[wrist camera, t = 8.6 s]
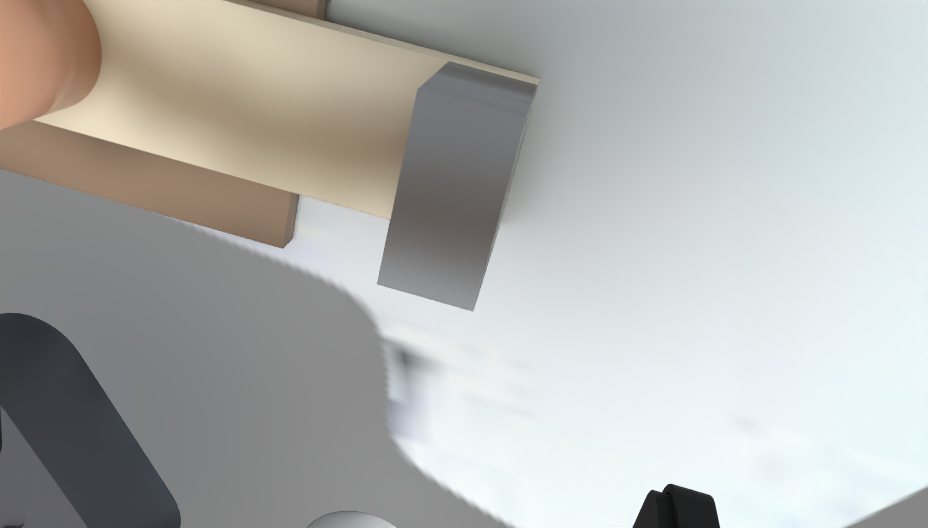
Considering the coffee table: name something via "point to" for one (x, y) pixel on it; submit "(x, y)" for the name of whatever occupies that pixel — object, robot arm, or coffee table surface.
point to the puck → (45, 57)
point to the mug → (350, 521)
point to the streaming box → (67, 442)
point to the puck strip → (320, 122)
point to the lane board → (156, 173)
